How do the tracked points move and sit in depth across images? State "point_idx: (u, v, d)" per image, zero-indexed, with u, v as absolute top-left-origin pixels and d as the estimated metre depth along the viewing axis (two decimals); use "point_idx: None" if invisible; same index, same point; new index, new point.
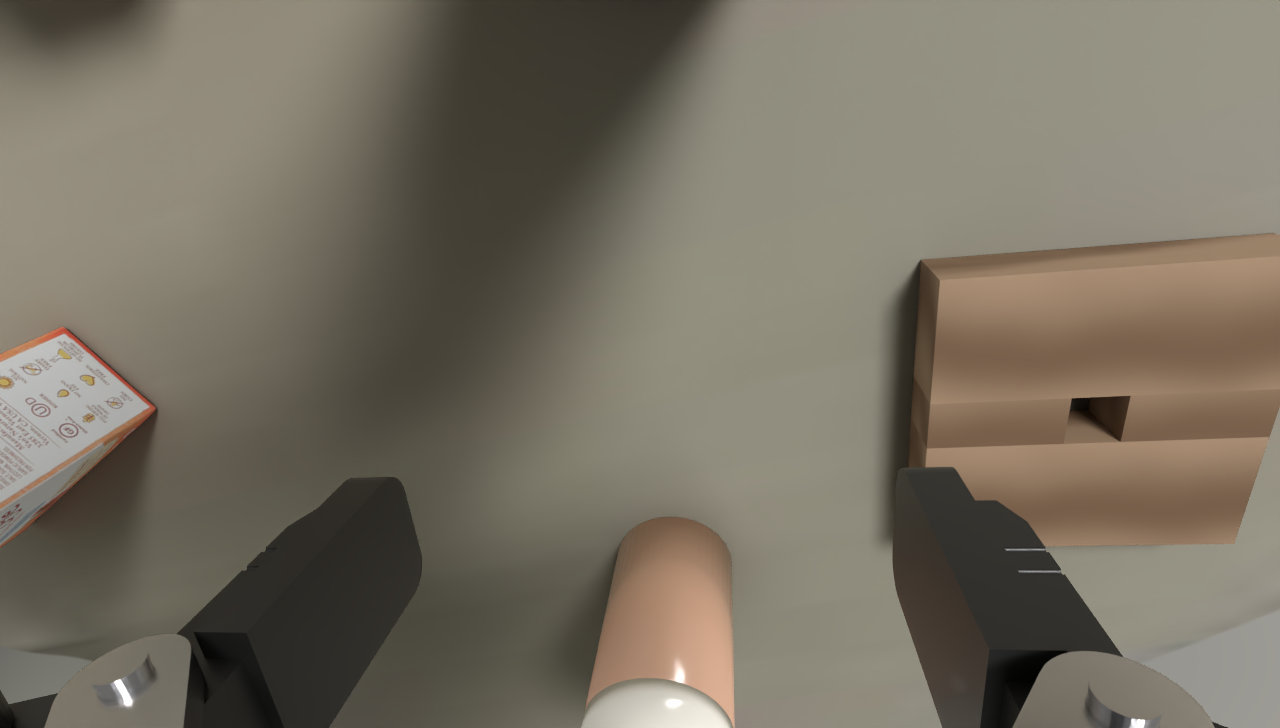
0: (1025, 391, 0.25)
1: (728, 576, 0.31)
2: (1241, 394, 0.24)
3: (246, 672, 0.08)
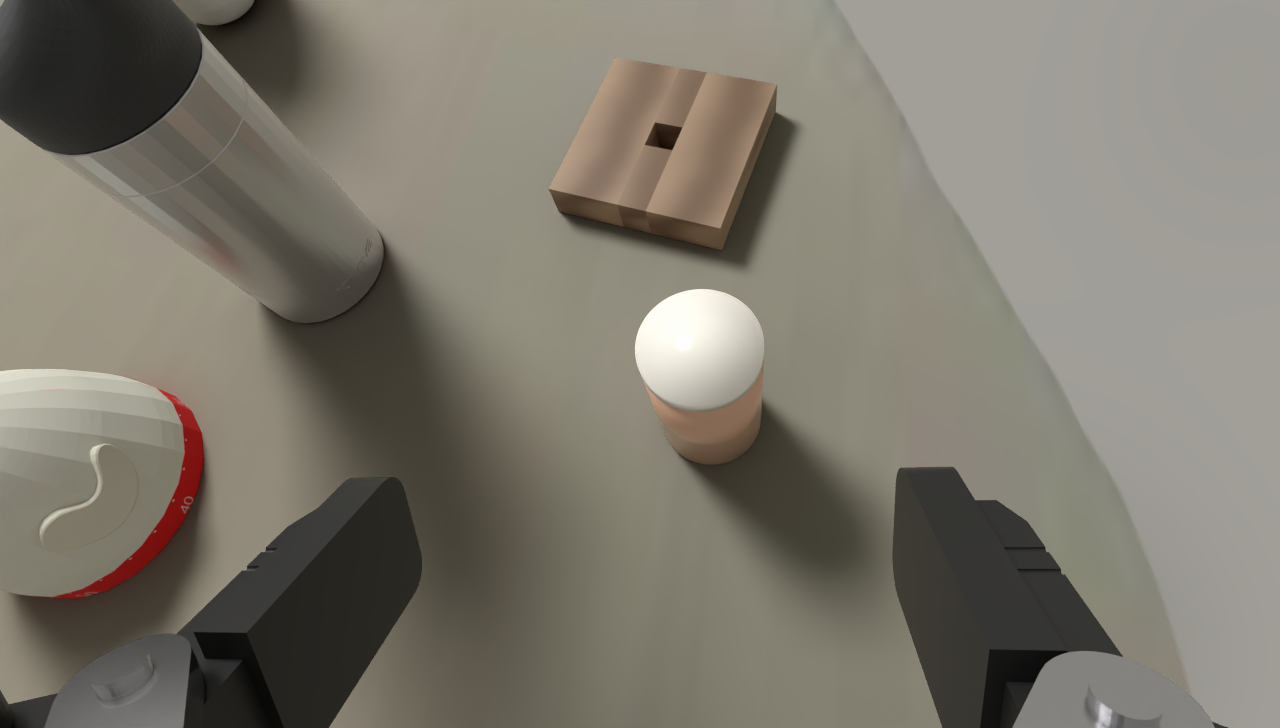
0: (630, 163, 0.44)
1: None
2: (675, 82, 0.46)
3: (246, 672, 0.08)
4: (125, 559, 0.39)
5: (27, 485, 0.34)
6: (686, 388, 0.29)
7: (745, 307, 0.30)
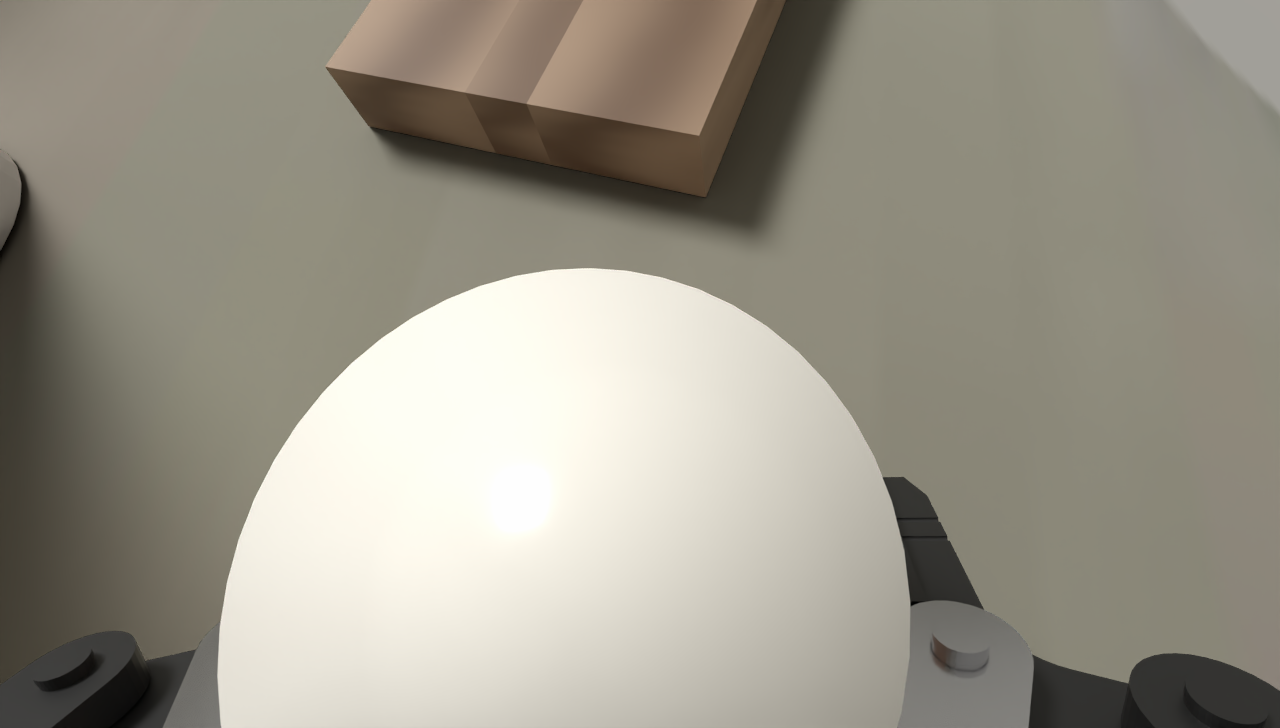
0: (503, 7, 0.20)
1: None
2: None
3: None
4: None
5: None
6: None
7: (790, 357, 0.06)
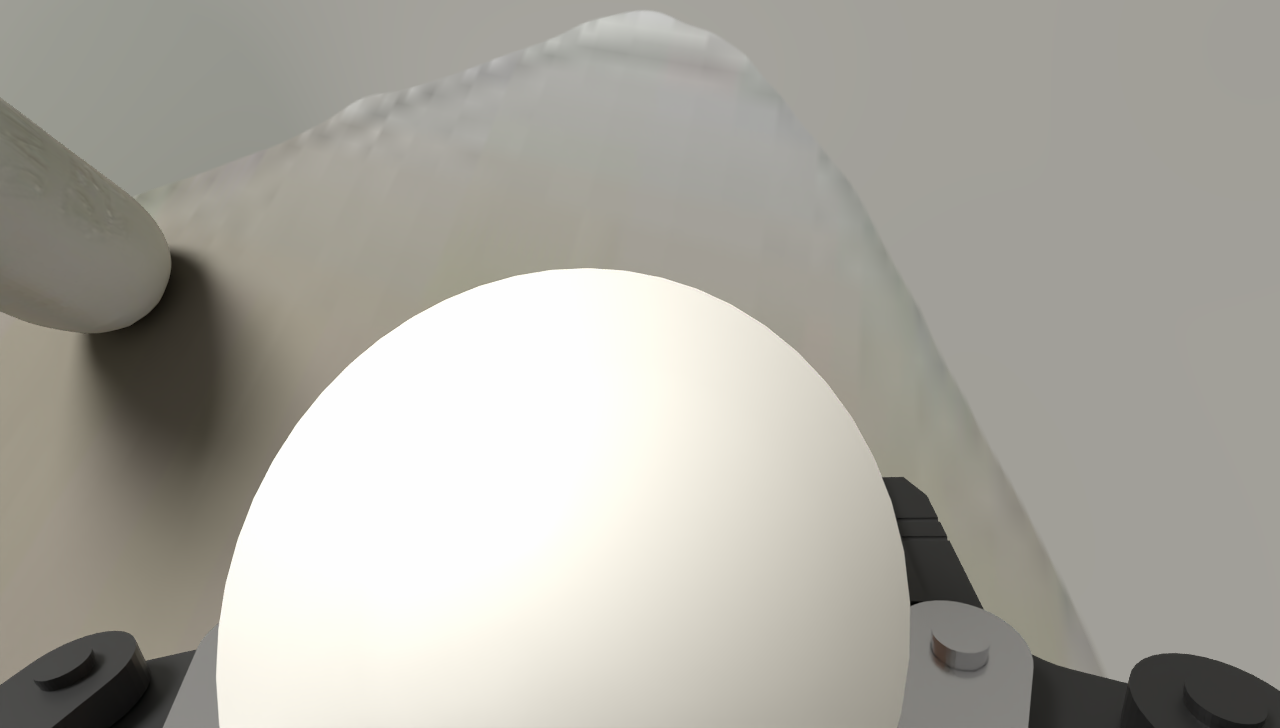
0: None
1: None
2: None
3: None
4: None
5: None
6: None
7: (790, 357, 0.06)
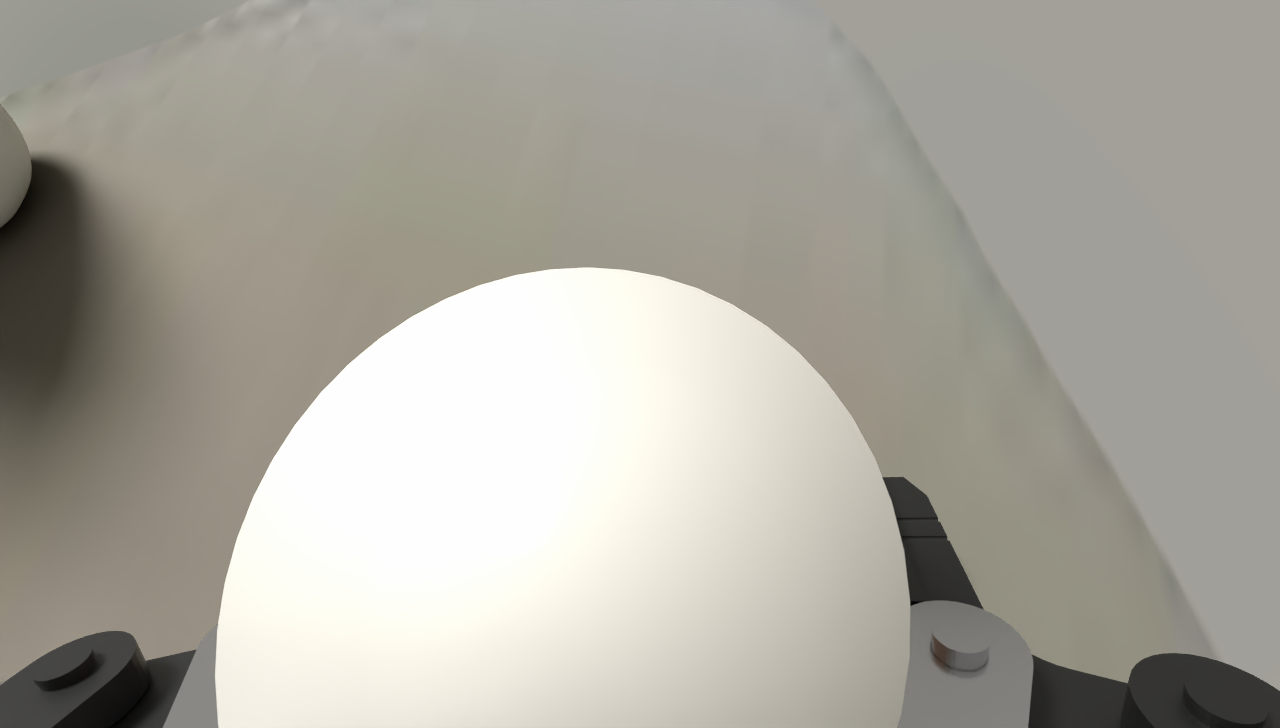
0: None
1: None
2: None
3: None
4: None
5: None
6: None
7: (790, 356, 0.06)
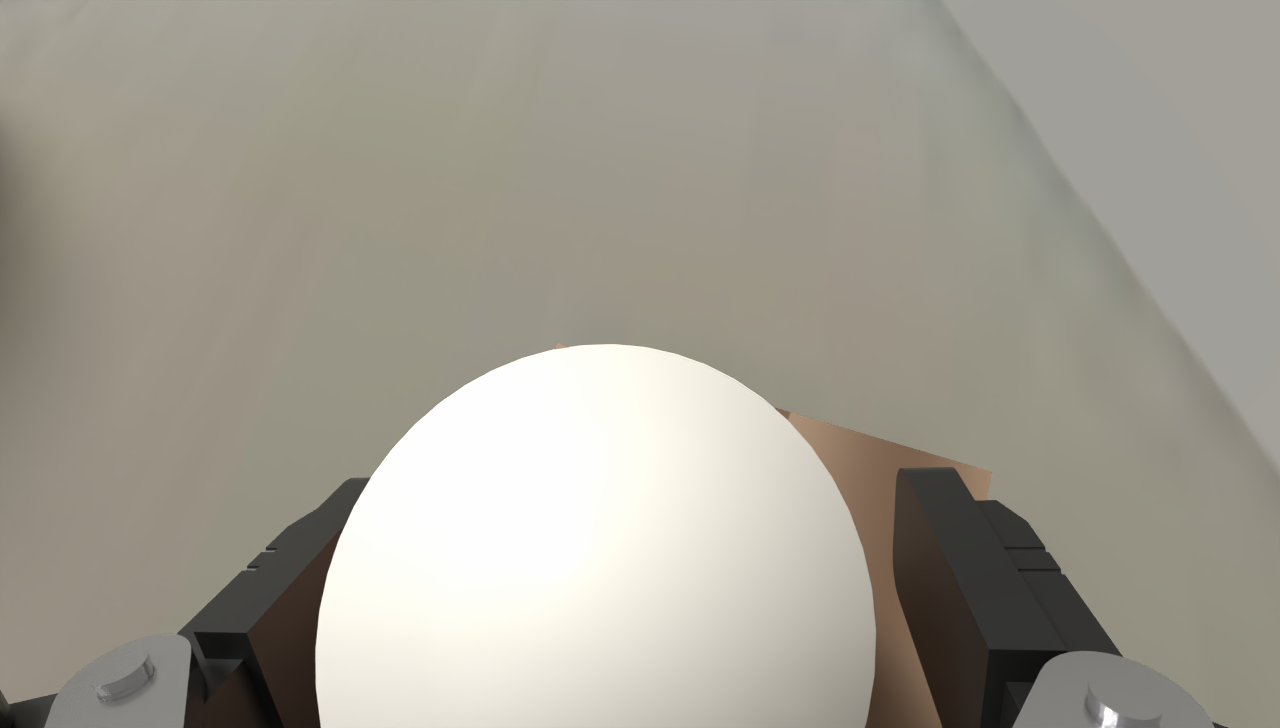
0: None
1: None
2: None
3: (246, 672, 0.08)
4: None
5: None
6: None
7: (782, 425, 0.07)
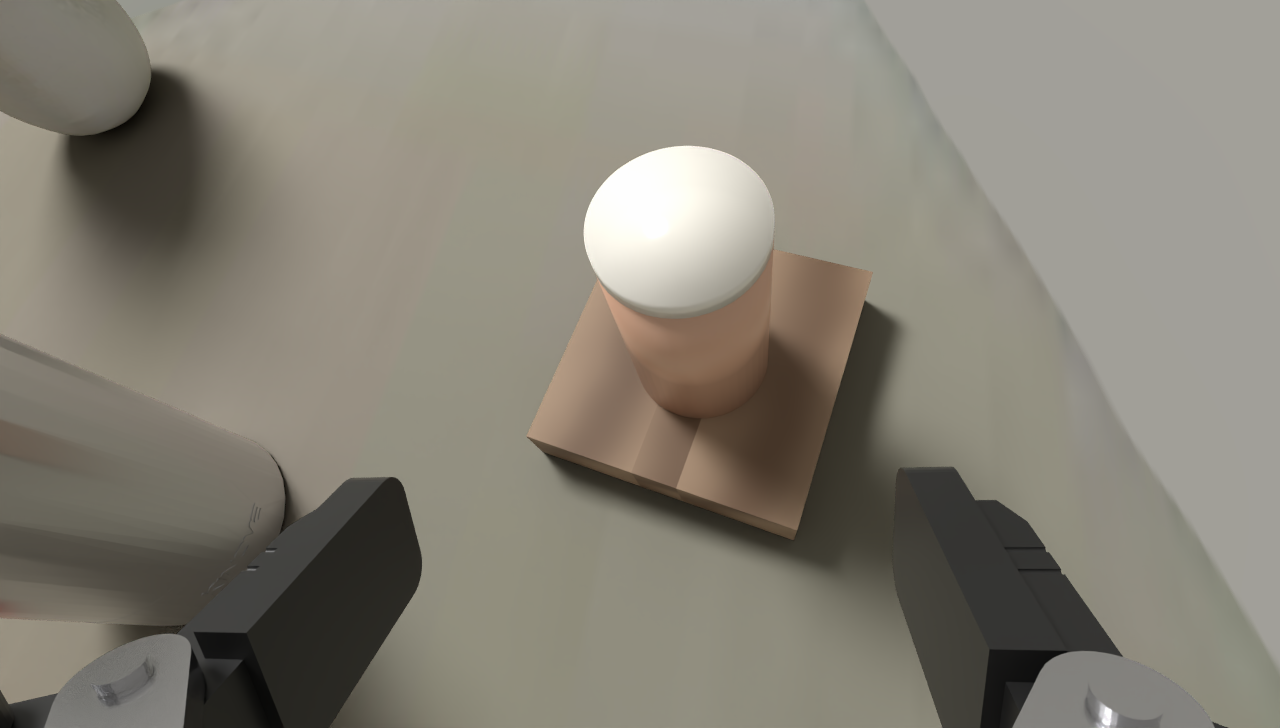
0: (651, 398, 0.29)
1: None
2: None
3: (246, 673, 0.08)
4: None
5: None
6: (658, 280, 0.19)
7: (746, 167, 0.20)
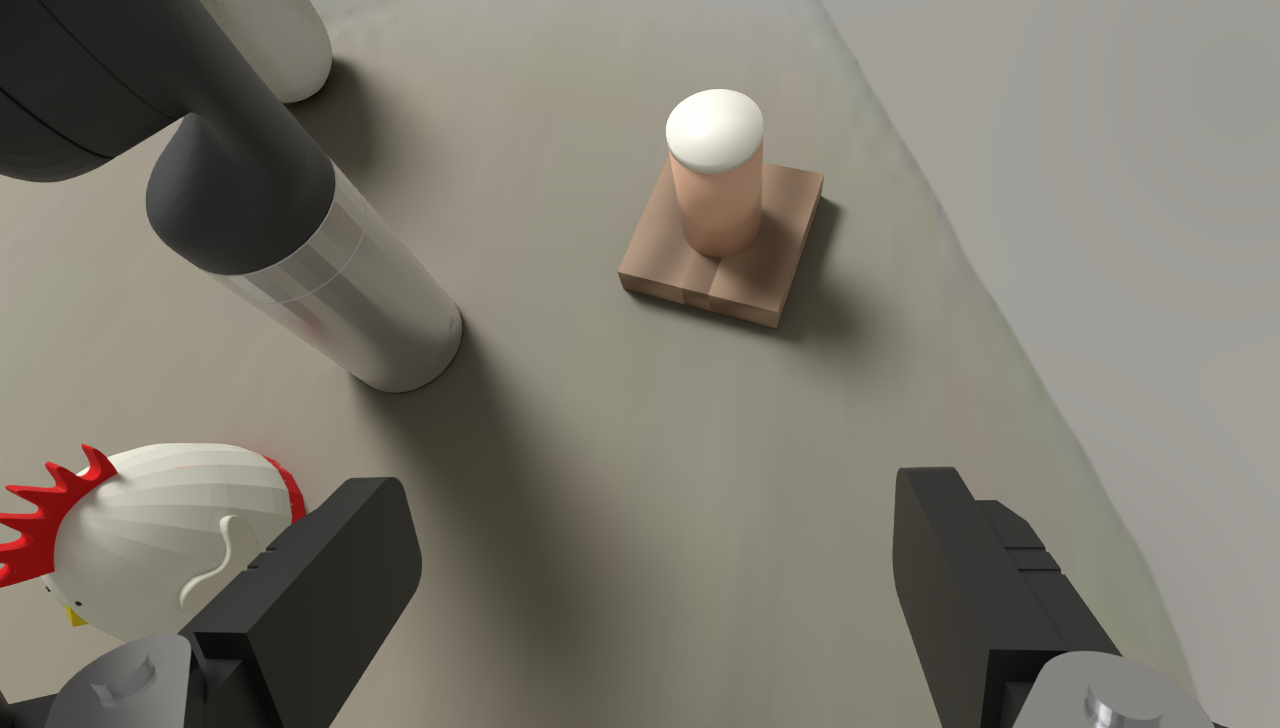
0: (691, 248, 0.48)
1: None
2: None
3: (246, 672, 0.08)
4: None
5: (172, 556, 0.39)
6: (705, 153, 0.39)
7: (748, 99, 0.40)
